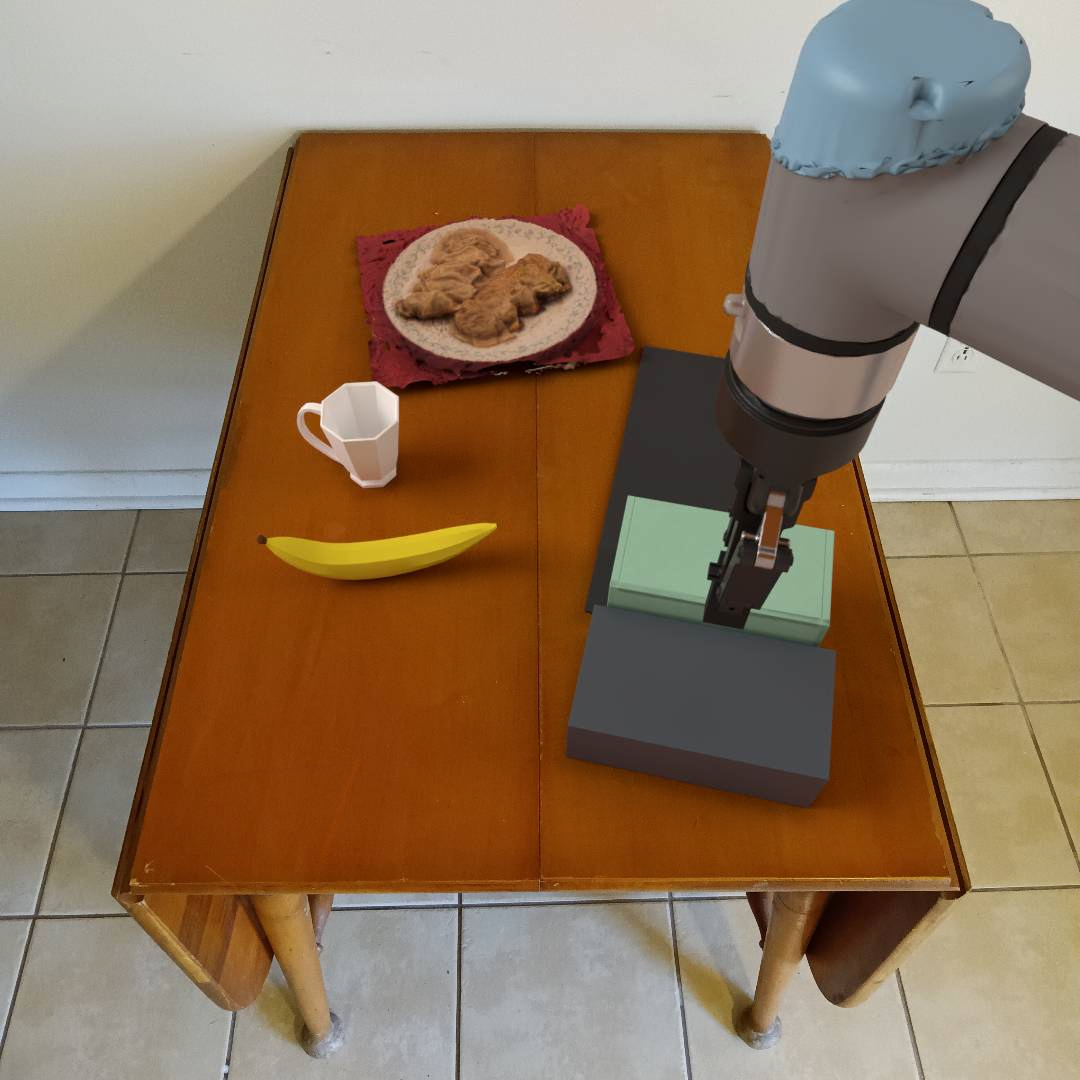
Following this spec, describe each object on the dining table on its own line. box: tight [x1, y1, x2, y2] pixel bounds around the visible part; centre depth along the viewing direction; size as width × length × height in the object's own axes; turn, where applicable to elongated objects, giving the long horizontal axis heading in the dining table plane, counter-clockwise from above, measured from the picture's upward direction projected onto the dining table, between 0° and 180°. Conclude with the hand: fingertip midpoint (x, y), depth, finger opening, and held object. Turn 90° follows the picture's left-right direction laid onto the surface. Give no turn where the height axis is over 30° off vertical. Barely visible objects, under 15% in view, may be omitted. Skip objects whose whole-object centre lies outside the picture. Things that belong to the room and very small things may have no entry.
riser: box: [565, 604, 837, 809], centre depth 70 cm, size 18×10×6 cm, turn 77°
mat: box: [584, 345, 739, 614], centre depth 86 cm, size 14×31×1 cm, turn 168°
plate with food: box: [355, 203, 637, 390], centre depth 97 cm, size 24×26×3 cm
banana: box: [256, 522, 499, 581], centre depth 78 cm, size 3×19×6 cm, turn 97°
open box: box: [607, 495, 836, 648], centre depth 75 cm, size 16×8×8 cm
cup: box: [296, 381, 400, 489], centre depth 83 cm, size 7×10×8 cm
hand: (724, 616), depth 63 cm, fingers closed
